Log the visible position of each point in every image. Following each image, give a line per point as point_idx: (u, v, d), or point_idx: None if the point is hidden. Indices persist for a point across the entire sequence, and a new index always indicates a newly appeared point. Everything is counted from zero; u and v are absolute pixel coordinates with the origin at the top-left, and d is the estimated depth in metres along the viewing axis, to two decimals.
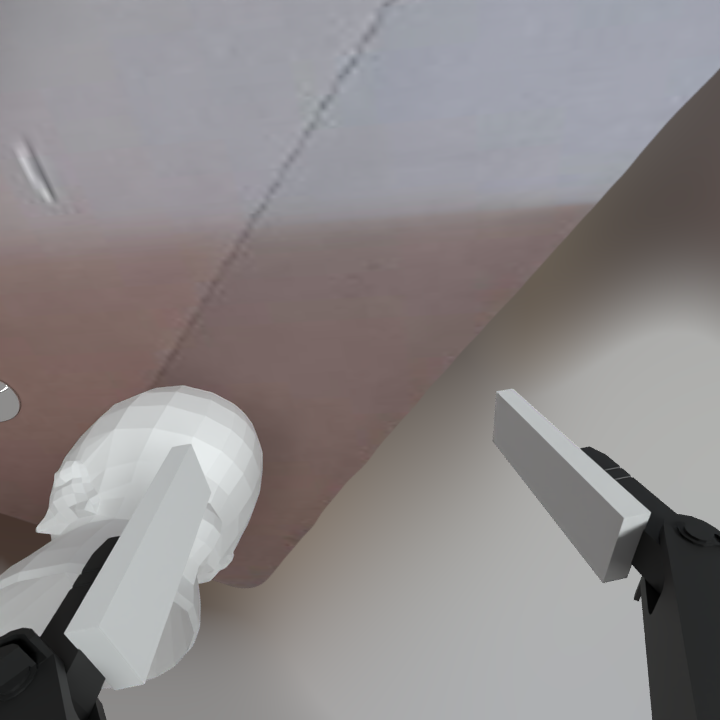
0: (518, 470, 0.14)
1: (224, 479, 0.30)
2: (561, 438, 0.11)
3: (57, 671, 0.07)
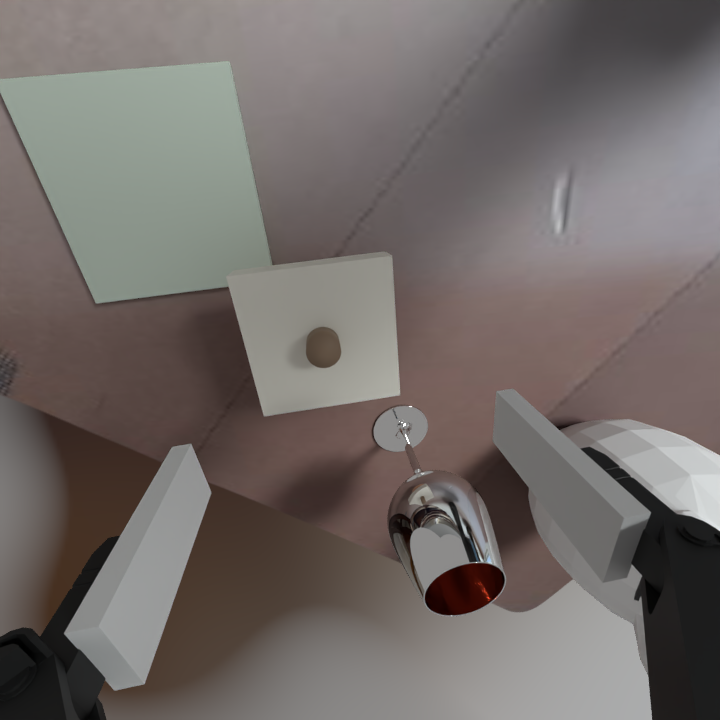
0: (518, 470, 0.14)
1: None
2: (561, 438, 0.11)
3: (57, 671, 0.07)
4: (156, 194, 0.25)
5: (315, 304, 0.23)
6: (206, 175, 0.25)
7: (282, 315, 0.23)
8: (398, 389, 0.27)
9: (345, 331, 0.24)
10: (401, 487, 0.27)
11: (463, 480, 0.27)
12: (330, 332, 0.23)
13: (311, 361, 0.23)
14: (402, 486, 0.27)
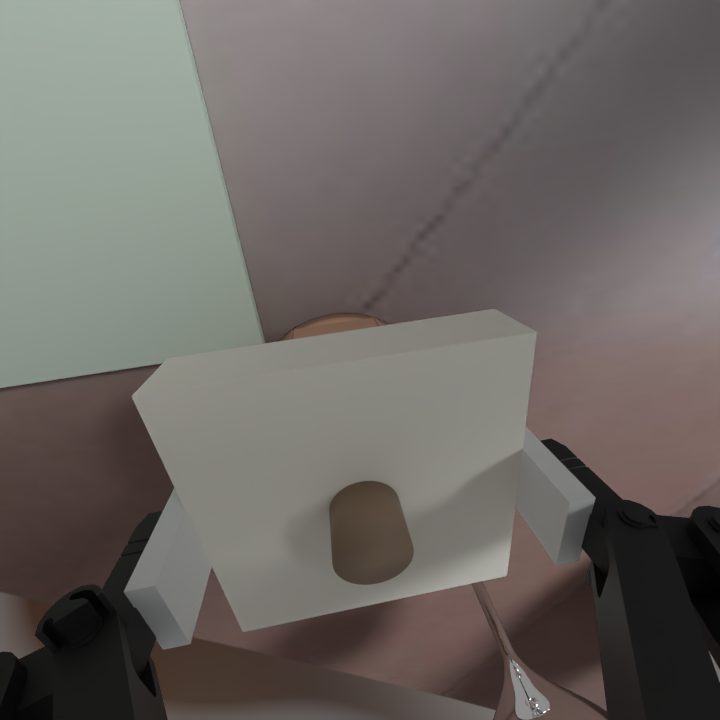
0: None
1: None
2: None
3: (119, 628, 0.08)
4: (15, 193, 0.12)
5: (351, 441, 0.10)
6: (117, 152, 0.12)
7: (276, 467, 0.10)
8: (505, 567, 0.14)
9: (414, 484, 0.11)
10: None
11: None
12: (386, 505, 0.10)
13: (344, 576, 0.10)
14: None
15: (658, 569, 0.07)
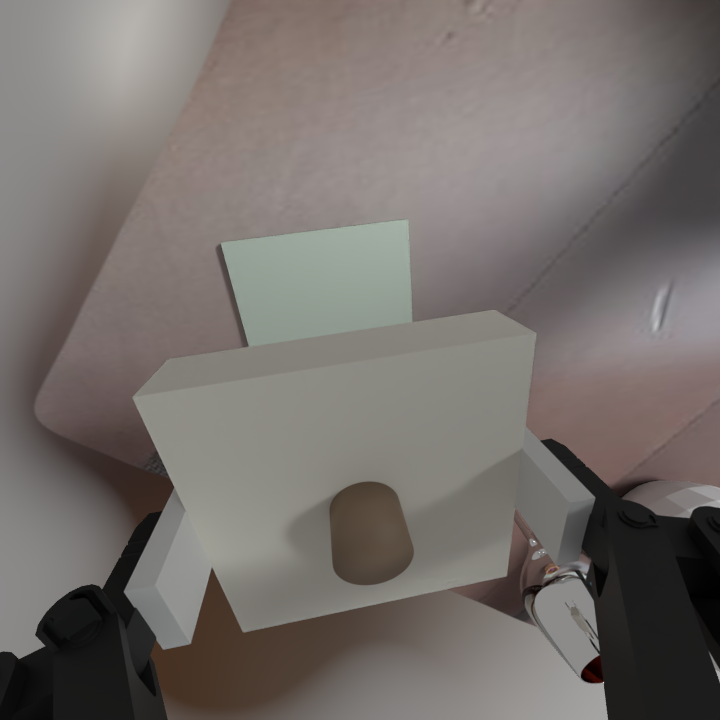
0: None
1: None
2: None
3: (119, 628, 0.08)
4: (331, 319, 0.30)
5: (351, 442, 0.10)
6: (374, 303, 0.30)
7: (276, 468, 0.10)
8: (505, 568, 0.14)
9: (414, 485, 0.11)
10: (535, 564, 0.31)
11: None
12: (386, 506, 0.10)
13: (344, 576, 0.10)
14: (536, 563, 0.31)
15: (658, 569, 0.07)
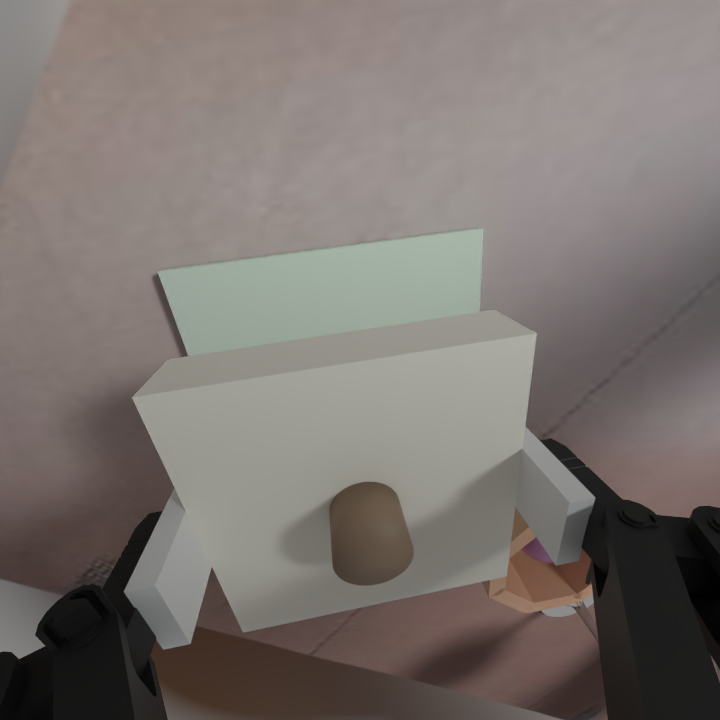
0: None
1: None
2: None
3: (119, 628, 0.08)
4: None
5: (351, 442, 0.10)
6: None
7: (276, 468, 0.10)
8: (505, 568, 0.14)
9: (414, 485, 0.11)
10: None
11: None
12: (386, 506, 0.10)
13: (344, 577, 0.10)
14: None
15: (658, 570, 0.07)
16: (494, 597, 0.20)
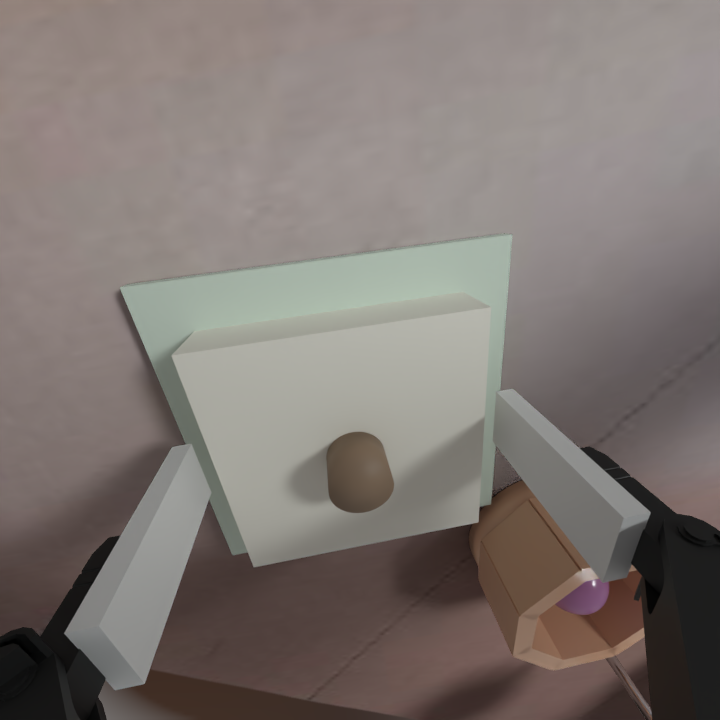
0: (518, 470, 0.14)
1: None
2: (561, 438, 0.11)
3: (57, 671, 0.07)
4: None
5: (343, 397, 0.12)
6: None
7: (283, 418, 0.13)
8: (476, 514, 0.16)
9: (396, 436, 0.14)
10: None
11: None
12: (372, 448, 0.12)
13: (338, 504, 0.12)
14: None
15: None
16: (519, 656, 0.17)
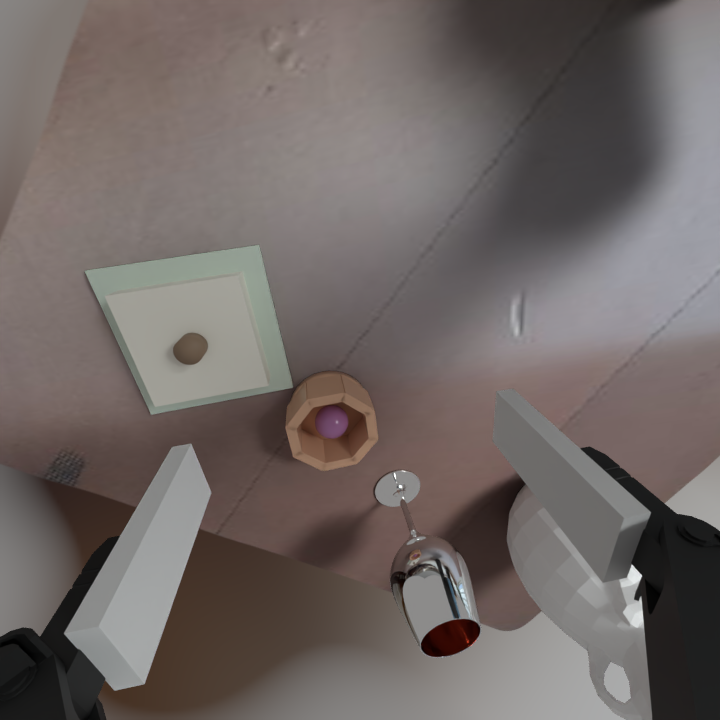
0: (518, 470, 0.14)
1: None
2: (561, 438, 0.11)
3: (57, 671, 0.07)
4: None
5: (182, 315, 0.29)
6: None
7: (156, 325, 0.29)
8: (266, 381, 0.33)
9: (211, 335, 0.31)
10: (400, 552, 0.34)
11: (448, 546, 0.34)
12: (194, 336, 0.29)
13: (179, 359, 0.29)
14: (400, 551, 0.34)
15: None
16: (297, 457, 0.34)
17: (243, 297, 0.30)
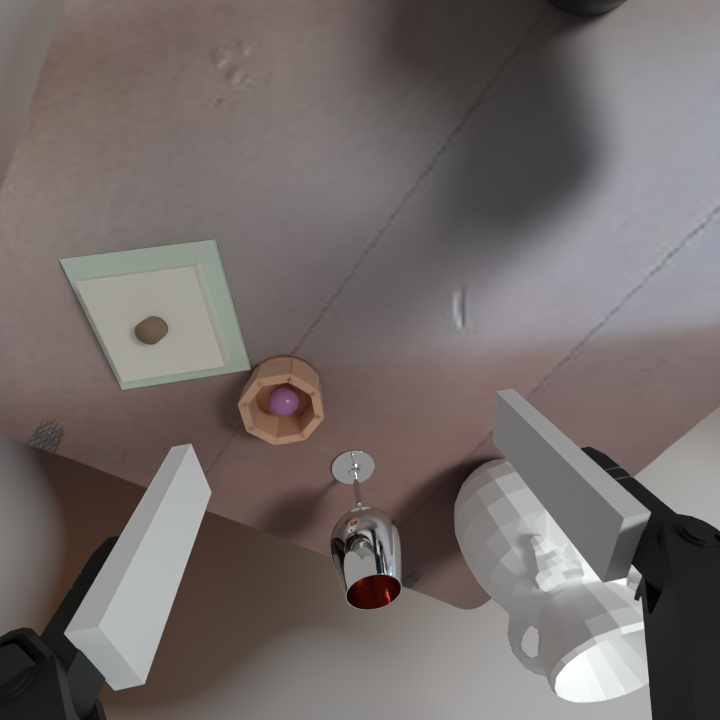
0: (518, 470, 0.14)
1: None
2: (561, 438, 0.11)
3: (57, 671, 0.07)
4: None
5: (143, 300, 0.33)
6: None
7: (121, 308, 0.33)
8: (222, 362, 0.37)
9: (170, 319, 0.34)
10: (340, 519, 0.38)
11: (382, 515, 0.38)
12: (154, 319, 0.33)
13: (140, 339, 0.33)
14: (340, 519, 0.38)
15: None
16: (249, 431, 0.38)
17: (198, 286, 0.34)
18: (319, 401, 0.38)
